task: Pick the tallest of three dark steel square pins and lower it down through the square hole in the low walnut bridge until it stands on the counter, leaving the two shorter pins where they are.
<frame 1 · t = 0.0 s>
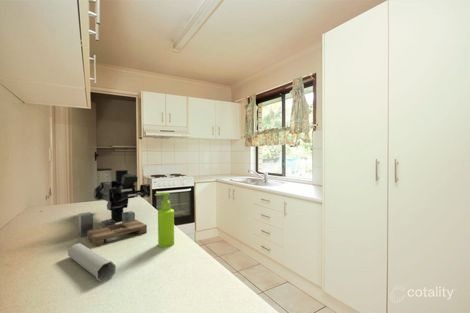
hand: (137, 194, 102), 17 cm above the countertop, tool horizontal, fingers open, 9 cm apart
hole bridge: (118, 235, 97), on the countertop
tube: (88, 267, 71), on the countertop
long pin: (85, 234, 99), on the countertop
short pin: (108, 229, 105), on the countertop
soap dispenser: (164, 245, 88), on the countertop
medium pin: (128, 224, 112), on the countertop
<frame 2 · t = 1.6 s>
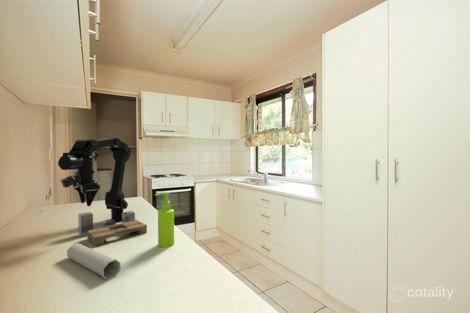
hand: (85, 204, 99), 13 cm above the countertop, tool pointing down, fingers open, 9 cm apart
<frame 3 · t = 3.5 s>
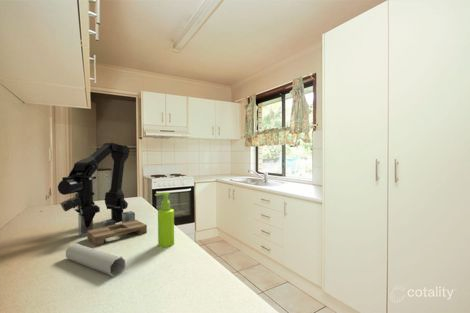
hand: (85, 226, 99), 4 cm above the countertop, tool pointing down, fingers closed on long pin, 4 cm apart
long pin: (85, 234, 99), on the countertop, touching gripper
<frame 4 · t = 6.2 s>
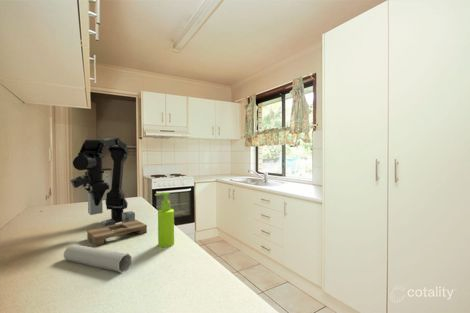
hand: (95, 204, 98), 13 cm above the countertop, tool pointing down, fingers closed on long pin, 4 cm apart
long pin: (95, 213, 98), point 9 cm above the countertop, touching gripper
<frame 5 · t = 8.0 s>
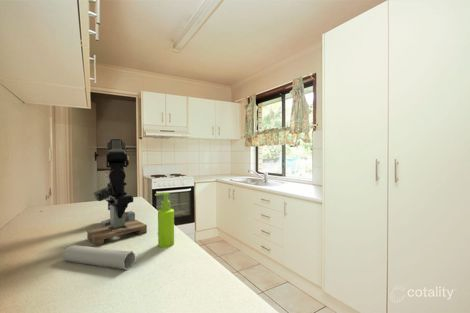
hand: (117, 217, 97), 8 cm above the countertop, tool pointing down, fingers closed on long pin, 4 cm apart
long pin: (117, 225, 97), point 4 cm above the countertop, touching gripper
when the fingers open (5 cm above the countertop, at t = 9.2 s): long pin drops 1 cm, on the countertop.
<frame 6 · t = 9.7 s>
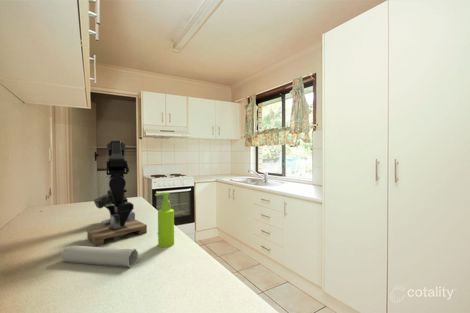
hand: (117, 224, 97), 5 cm above the countertop, tool pointing down, fingers open, 9 cm apart
long pin: (117, 235, 97), on the countertop
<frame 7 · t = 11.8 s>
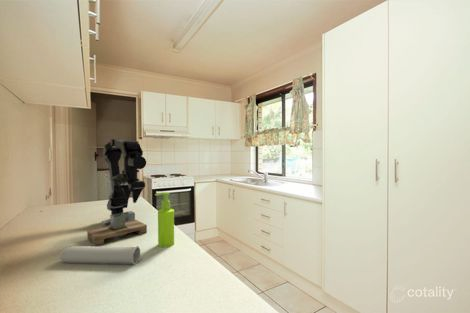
hand: (130, 201, 107), 13 cm above the countertop, tool pointing down, fingers open, 9 cm apart
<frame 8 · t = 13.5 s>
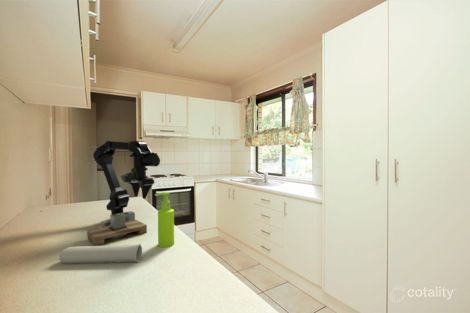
hand: (140, 197, 114), 13 cm above the countertop, tool pointing down, fingers open, 9 cm apart
at the end: long pin 0.1 cm off-centre on the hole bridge, point 0.0 cm above the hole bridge's base; long pin tilted 0°; short pin moved 0.2 cm from its start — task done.
